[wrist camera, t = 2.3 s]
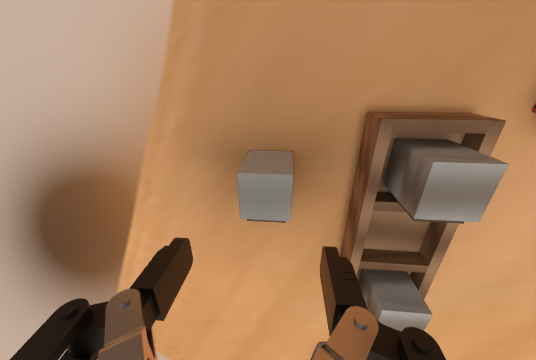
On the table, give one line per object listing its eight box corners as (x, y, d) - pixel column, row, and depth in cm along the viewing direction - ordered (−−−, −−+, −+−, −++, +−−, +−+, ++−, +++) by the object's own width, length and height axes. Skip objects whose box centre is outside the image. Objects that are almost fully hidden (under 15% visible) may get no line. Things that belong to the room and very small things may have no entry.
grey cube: (249, 150, 23) (236, 172, 18) (292, 151, 23) (293, 174, 17) (251, 192, 25) (240, 224, 20) (290, 194, 25) (290, 227, 20)
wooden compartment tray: (367, 112, 20) (405, 130, 14) (471, 113, 20) (566, 133, 13) (334, 286, 30) (347, 346, 24) (402, 292, 30) (435, 355, 23)
